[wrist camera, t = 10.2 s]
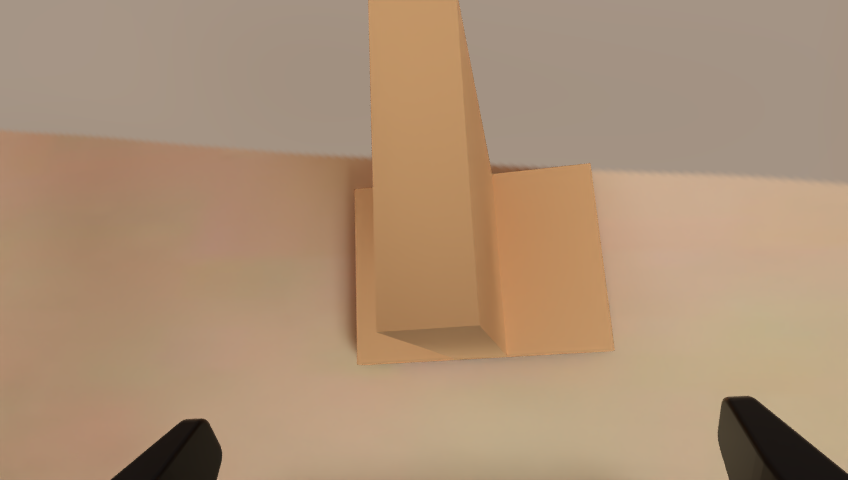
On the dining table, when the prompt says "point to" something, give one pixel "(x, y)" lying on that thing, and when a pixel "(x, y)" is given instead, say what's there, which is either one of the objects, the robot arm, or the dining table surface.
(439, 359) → the tan upright slab stand
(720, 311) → the dining table surface
